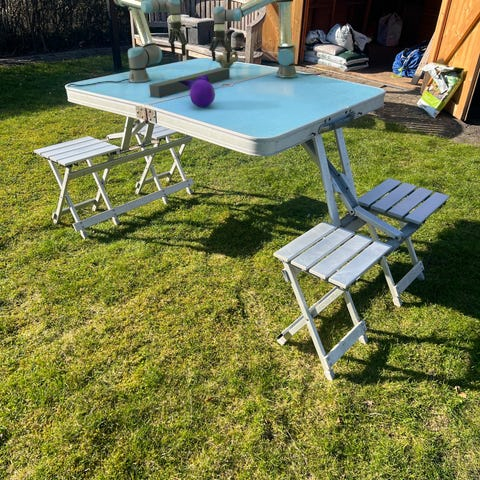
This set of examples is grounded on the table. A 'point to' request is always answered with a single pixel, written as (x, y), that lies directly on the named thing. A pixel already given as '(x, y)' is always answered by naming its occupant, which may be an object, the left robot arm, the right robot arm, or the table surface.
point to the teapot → (223, 59)
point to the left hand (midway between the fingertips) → (178, 54)
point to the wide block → (176, 87)
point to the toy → (201, 91)
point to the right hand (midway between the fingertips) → (221, 61)
